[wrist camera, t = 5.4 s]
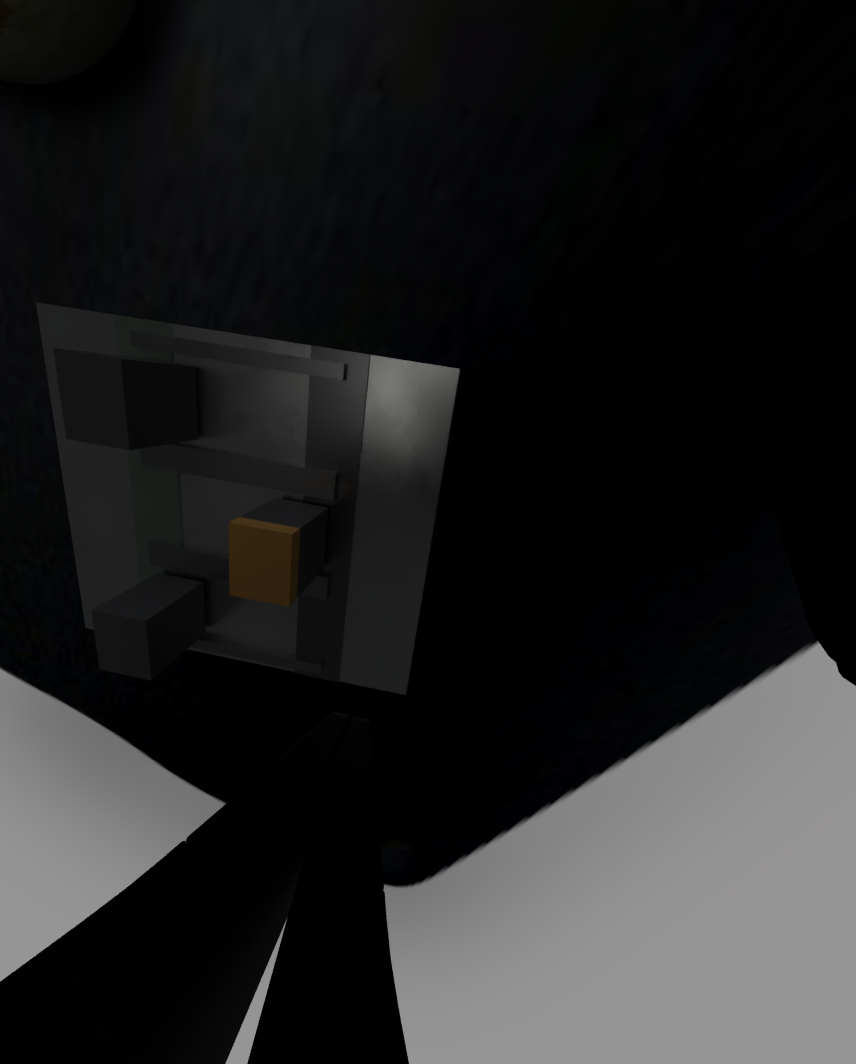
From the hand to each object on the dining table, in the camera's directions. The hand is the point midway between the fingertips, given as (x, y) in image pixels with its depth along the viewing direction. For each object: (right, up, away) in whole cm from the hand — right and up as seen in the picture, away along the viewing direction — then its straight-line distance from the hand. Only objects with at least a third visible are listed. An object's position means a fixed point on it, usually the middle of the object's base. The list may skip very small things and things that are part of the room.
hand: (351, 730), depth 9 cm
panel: (-7, +5, +11) cm, 14 cm away
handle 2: (-11, +1, +12) cm, 16 cm away
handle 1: (-9, +10, +9) cm, 16 cm away
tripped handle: (-4, +4, +10) cm, 12 cm away
